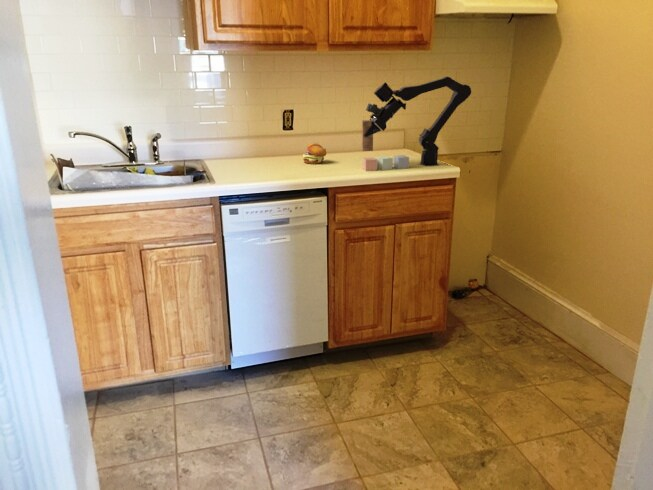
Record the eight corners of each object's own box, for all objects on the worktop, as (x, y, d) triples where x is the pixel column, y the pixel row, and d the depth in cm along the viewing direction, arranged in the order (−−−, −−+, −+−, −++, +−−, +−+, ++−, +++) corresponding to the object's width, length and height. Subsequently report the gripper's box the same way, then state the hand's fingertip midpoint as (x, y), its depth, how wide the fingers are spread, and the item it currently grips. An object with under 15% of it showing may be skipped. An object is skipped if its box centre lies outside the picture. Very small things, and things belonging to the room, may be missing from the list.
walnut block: (371, 149, 250) (372, 120, 246) (372, 150, 246) (373, 121, 242) (362, 149, 250) (362, 120, 246) (362, 151, 246) (363, 121, 242)
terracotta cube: (373, 168, 244) (373, 157, 242) (376, 170, 239) (376, 159, 237) (362, 169, 243) (362, 157, 241) (365, 171, 238) (365, 159, 236)
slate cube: (403, 166, 248) (404, 155, 246) (408, 168, 243) (409, 157, 242) (393, 166, 247) (393, 155, 245) (398, 169, 242) (398, 157, 240)
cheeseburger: (309, 159, 265) (313, 139, 261) (327, 166, 261) (332, 146, 257) (297, 162, 257) (301, 142, 253) (316, 170, 253) (321, 149, 248)
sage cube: (386, 167, 246) (386, 156, 244) (392, 169, 242) (392, 157, 240) (376, 168, 244) (376, 157, 242) (382, 170, 240) (382, 158, 238)
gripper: (374, 95, 249) (350, 120, 253) (379, 98, 232) (353, 125, 235) (391, 112, 252) (367, 137, 255) (397, 117, 234) (371, 143, 238)
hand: (364, 135), depth 246 cm, fingers closed on walnut block, 4 cm apart
